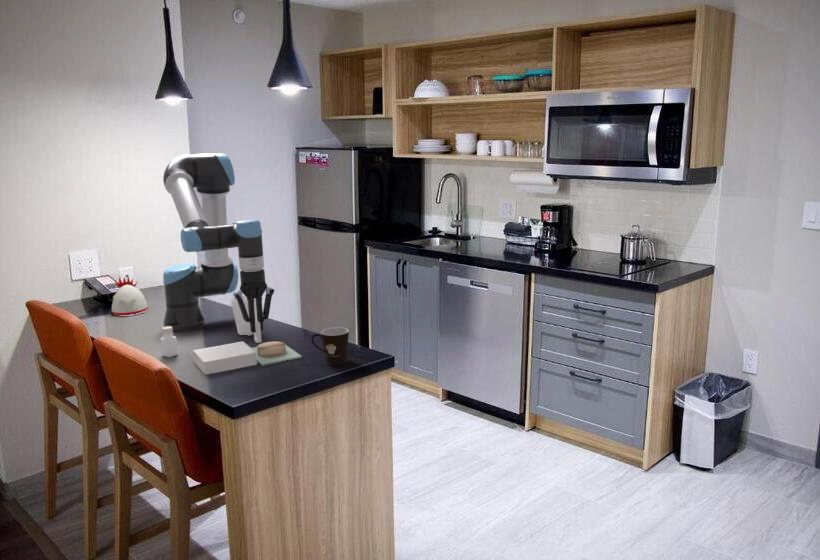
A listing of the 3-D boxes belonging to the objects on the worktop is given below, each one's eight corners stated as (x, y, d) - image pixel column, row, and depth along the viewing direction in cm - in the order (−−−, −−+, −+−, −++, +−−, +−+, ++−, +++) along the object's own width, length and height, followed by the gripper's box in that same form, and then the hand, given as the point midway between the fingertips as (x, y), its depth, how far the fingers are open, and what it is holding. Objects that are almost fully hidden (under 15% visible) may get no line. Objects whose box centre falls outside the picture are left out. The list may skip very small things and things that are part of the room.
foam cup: (231, 332, 248) (228, 297, 245) (256, 328, 252) (253, 294, 249) (237, 338, 240) (234, 302, 237) (263, 334, 244) (260, 299, 241)
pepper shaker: (172, 352, 226) (169, 325, 224) (179, 354, 224) (176, 327, 222) (161, 355, 223) (158, 328, 221) (168, 358, 221) (164, 330, 219)
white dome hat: (114, 310, 286) (109, 275, 283) (149, 306, 290) (145, 272, 287) (110, 318, 273) (105, 281, 270) (147, 314, 277) (142, 278, 274)
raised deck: (194, 362, 216) (193, 350, 215) (243, 352, 223) (242, 341, 223) (205, 374, 204) (204, 362, 203) (257, 364, 212) (256, 352, 211)
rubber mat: (244, 350, 226) (244, 349, 225) (282, 343, 232) (282, 342, 232) (262, 365, 210) (262, 363, 210) (301, 357, 217) (301, 355, 217)
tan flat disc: (254, 351, 222) (253, 344, 222) (280, 346, 227) (279, 339, 226) (263, 359, 215) (262, 351, 214) (290, 353, 219) (289, 346, 219)
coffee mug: (356, 361, 212) (354, 330, 210) (335, 368, 206) (333, 337, 203) (331, 354, 219) (329, 324, 217) (310, 361, 213) (308, 330, 211)
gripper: (235, 274, 206) (241, 348, 211) (276, 268, 213) (281, 340, 218) (228, 270, 213) (234, 342, 218) (268, 265, 219) (273, 335, 224)
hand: (258, 341), depth 218 cm, fingers closed
